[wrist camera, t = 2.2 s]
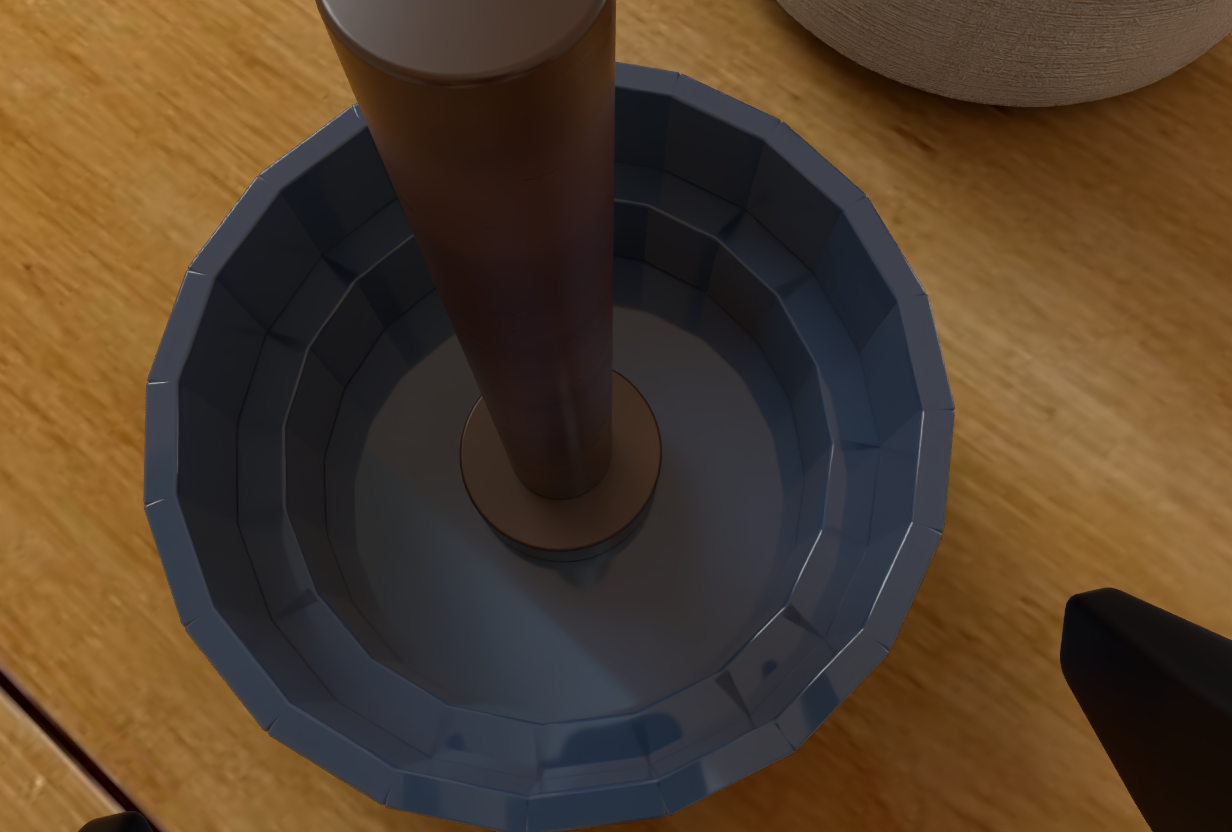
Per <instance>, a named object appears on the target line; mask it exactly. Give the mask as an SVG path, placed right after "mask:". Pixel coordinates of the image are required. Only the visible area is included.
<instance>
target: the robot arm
mask: <svg viewBox="0 0 1232 832" xmlns="http://www.w3.org/2000/svg"><path fill="white" fill-rule="evenodd" d="M1060 663H1061V668H1062V672H1063V674H1064V677H1065V679H1066V681H1067V683H1068V685H1069V687H1070V689H1071V690H1072V692H1073V694H1074V696H1075V698H1076V699H1077V701H1078V703H1079V705H1080V706H1081V708H1082V710H1083V712H1084V714H1085V715H1086V717H1087V719H1088V721H1089V722H1090V724H1091V726H1092V728H1093V729H1094V731H1095V733H1096V735H1097V737H1098V738H1099V740H1100V742H1101V744H1102V745H1103V747H1104V749H1105V751H1106V753H1107V754H1108V756H1109V758H1110V760H1111V761H1112V763H1113V765H1114V767H1115V769H1116V770H1117V772H1118V774H1119V776H1120V777H1121V779H1122V781H1123V783H1124V784H1125V786H1126V788H1127V790H1128V792H1129V793H1130V795H1131V797H1132V799H1133V800H1134V802H1135V804H1136V805H1137V807H1138V809H1139V810H1140V812H1141V814H1142V815H1143V817H1144V819H1145V820H1146V822H1147V823H1148V825H1149V826H1150V828H1151V829H1152V831H1153V832H1232V640H1230V639H1228V638H1225V637H1223V636H1221V635H1219V634H1216V633H1214V632H1212V631H1210V630H1208V629H1205V628H1203V627H1201V626H1199V625H1196V624H1194V623H1192V622H1190V621H1187V620H1185V619H1183V618H1181V617H1179V616H1176V615H1174V614H1172V613H1170V612H1167V611H1165V610H1163V609H1161V608H1158V607H1156V606H1154V605H1152V604H1150V603H1147V602H1145V601H1143V600H1141V599H1138V598H1136V597H1134V596H1132V595H1130V594H1127V593H1125V592H1123V591H1120V590H1118V589H1115V588H1101V589H1096V590H1092V591H1088V592H1083V593H1079V594H1075V595H1073V596H1071V597H1070V599H1069V600H1068V602H1067V603H1066V608H1065V615H1064V624H1063V633H1062V641H1061V650H1060ZM78 832H153V831H152V829H151V828H150V826H149V824H148V823H147V821H146V819H145V818H144V817H143V816H142V815H141V814H139V813H138V812H136V811H127V812H123V813H118V814H114V815H110V816H105V817H101V818H97V819H94V820H92V821H90V822H88V823H87V824H85V825H84V826H83V827H82V828H81V829H80V830H79V831H78Z"/></svg>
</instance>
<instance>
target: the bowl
mask: <svg viewBox="0 0 1232 832" xmlns="http://www.w3.org/2000/svg"><path fill="white" fill-rule="evenodd" d="M259 176H260V177H259ZM259 176H257V177H256V178H255V179H254V180H253V182H252V183H251V184H250V186H249V187H248V188H247V190H246V191H245V192H244V194H243V195H242V196H241V198H240V199H239V200H238V202H237V203H236V204H235V206H234V207H233V208H232V210H231V211H230V212H229V213H228V215H227V216H226V217H225V219H224V220H223V221H222V223H221V224H220V225H219V227H218V228H217V229H216V231H215V232H214V233H213V235H212V236H211V237H210V239H209V240H208V241H207V243H206V244H205V245H204V246H203V248H202V249H201V250H200V252H199V253H198V254H197V256H196V257H195V258H194V260H193V261H192V262H191V264H190V265H189V267H188V269H189V270H187V271H186V273H185V276H184V279H183V281H182V284H181V287H180V290H179V293H178V295H177V298H176V301H175V304H174V306H173V309H172V312H171V315H170V318H169V320H168V323H167V326H166V329H165V331H164V334H163V337H162V340H161V343H160V345H159V348H158V351H157V354H156V356H155V359H154V362H153V365H152V367H151V370H150V373H149V376H148V382H149V383H147V385H146V418H145V460H144V504H145V505H146V506H144V510H145V513H146V516H147V519H148V522H149V525H150V528H151V531H152V534H153V537H154V540H155V543H156V547H157V550H158V553H159V556H160V559H161V562H162V565H163V568H164V571H165V574H166V577H167V580H168V583H169V586H170V590H171V593H172V596H173V599H174V602H175V605H176V608H177V611H178V614H179V617H180V620H181V623H182V625H183V626H184V627H185V630H186V632H187V634H188V635H189V636H190V637H191V639H192V640H193V641H194V642H195V644H196V645H197V646H198V648H199V649H200V650H201V651H202V653H203V654H204V655H205V657H206V658H207V659H208V660H209V662H210V663H211V664H212V665H213V667H214V668H215V669H216V671H217V672H218V673H219V674H220V676H221V677H222V678H223V680H224V681H225V682H226V683H227V685H228V686H229V687H230V688H231V690H232V691H233V692H234V694H235V695H236V696H237V697H238V699H239V700H240V701H241V703H242V704H243V705H244V706H245V708H246V709H247V710H248V711H249V713H250V714H251V715H252V717H253V718H254V719H255V720H256V722H257V723H258V724H259V725H260V727H261V728H262V729H263V730H264V731H266V732H268V734H269V736H270V737H272V738H274V739H275V740H277V741H278V742H280V743H282V744H283V745H285V746H287V747H288V748H290V749H291V750H293V751H295V752H296V753H298V754H299V755H301V756H303V757H304V758H306V759H308V760H309V761H311V762H312V763H314V764H316V765H317V766H319V767H320V768H322V769H324V770H325V771H327V772H328V773H330V774H332V775H333V776H335V777H337V778H338V779H340V780H341V781H343V782H345V783H346V784H348V785H349V786H351V787H353V788H354V789H356V790H358V791H359V792H361V793H362V794H364V795H366V796H367V797H369V798H370V799H372V800H374V801H375V802H377V803H378V804H380V805H385V807H387V808H390V809H394V810H399V811H404V812H409V813H413V814H418V815H423V816H428V817H432V818H437V819H442V820H447V821H451V822H456V823H461V824H466V825H470V826H475V827H480V828H485V829H489V830H494V831H499V832H564V831H571V830H579V829H586V828H594V827H601V826H608V825H616V824H623V823H631V822H638V821H645V820H653V819H660V818H665V817H666V816H667V815H668V816H672V815H674V814H676V813H678V812H680V811H682V810H684V809H686V808H688V807H690V806H692V805H694V804H696V803H698V802H700V801H702V800H704V799H706V798H708V797H710V796H712V795H714V794H716V793H717V792H719V791H721V790H723V789H725V788H727V787H729V786H731V785H733V784H735V783H737V782H739V781H741V780H743V779H745V778H747V777H749V776H751V775H753V774H755V773H757V772H759V771H760V770H762V769H764V768H766V767H768V766H770V765H772V764H774V763H776V762H778V761H780V760H782V759H784V758H786V757H788V756H790V755H792V754H793V753H794V751H797V750H798V749H799V748H800V747H801V746H802V745H803V744H804V743H805V742H806V741H807V740H808V739H809V738H810V737H811V736H812V735H813V734H814V733H815V732H816V731H817V729H818V728H819V727H820V726H821V725H822V724H823V723H824V722H825V721H826V720H827V719H828V718H829V717H830V716H831V715H832V714H833V713H834V712H835V711H836V710H837V709H838V707H839V706H840V705H841V704H842V703H843V702H844V701H845V700H846V699H847V698H848V697H849V696H850V695H851V694H852V693H853V692H854V691H855V690H856V689H857V688H858V686H859V685H860V684H861V683H862V682H863V681H864V680H865V679H866V678H867V677H868V676H869V675H870V674H871V673H872V672H873V671H874V670H875V669H876V668H877V667H878V665H879V664H880V663H881V662H882V661H883V660H884V659H885V658H886V657H887V656H888V654H889V652H888V651H890V650H891V649H892V647H893V645H894V643H895V641H896V639H897V636H898V634H899V632H900V630H901V628H902V625H903V623H904V621H905V619H906V616H907V614H908V612H909V610H910V608H911V605H912V603H913V601H914V599H915V597H916V594H917V592H918V590H919V588H920V586H921V583H922V581H923V579H924V577H925V574H926V572H927V570H928V568H929V566H930V563H931V561H932V559H933V557H934V555H935V552H936V550H937V548H938V546H939V544H940V541H941V539H942V534H941V533H943V531H944V525H945V514H946V503H947V492H948V481H949V470H950V459H951V448H952V437H953V426H954V416H955V414H954V411H953V410H954V409H955V406H954V402H953V398H952V394H951V389H950V385H949V381H948V377H947V373H946V369H945V364H944V360H943V356H942V352H941V348H940V344H939V339H938V335H937V331H936V327H935V323H934V319H933V314H932V310H931V306H930V302H929V298H928V295H926V293H925V290H924V288H923V287H922V285H921V283H920V282H919V280H918V278H917V277H916V275H915V273H914V272H913V270H912V269H911V267H910V265H909V264H908V262H907V260H906V259H905V257H904V256H903V254H902V252H901V251H900V249H899V247H898V246H897V244H896V242H895V241H894V239H893V238H892V236H891V234H890V233H889V231H888V229H887V228H886V226H885V224H884V223H883V221H882V220H881V218H880V216H879V215H878V213H877V211H876V210H875V208H874V207H873V205H872V203H871V202H870V200H869V198H867V197H866V195H865V193H864V192H862V191H861V190H860V189H859V188H858V187H857V186H856V185H855V184H853V183H852V182H851V181H850V180H849V179H848V178H847V177H845V176H844V175H843V174H842V173H841V172H840V171H839V170H838V169H836V168H835V167H834V166H833V165H832V164H831V163H830V162H828V161H827V160H826V159H825V158H824V157H823V156H822V155H821V154H819V153H818V152H817V151H816V150H815V149H814V148H813V147H811V146H810V145H809V144H808V143H807V142H806V141H805V140H804V139H802V138H801V137H800V136H799V135H798V134H797V133H796V132H794V131H793V130H792V129H791V128H790V127H789V126H788V125H787V124H785V123H784V122H781V121H780V120H779V119H777V118H775V117H773V116H771V115H769V114H767V113H764V112H762V111H760V110H758V109H756V108H754V107H752V106H750V105H747V104H745V103H743V102H741V101H739V100H737V99H735V98H732V97H730V96H728V95H726V94H724V93H722V92H720V91H718V90H715V89H713V88H711V87H709V86H707V85H705V84H703V83H701V82H698V81H696V80H694V79H692V78H690V77H688V76H686V75H684V74H681V75H680V74H679V73H678V72H673V71H667V70H662V69H656V68H650V67H644V66H638V65H632V64H626V63H620V62H615V140H614V246H613V352H612V369H614V370H615V371H617V372H618V373H620V374H622V375H623V376H624V377H625V378H627V379H628V380H629V381H630V382H631V383H632V384H633V385H634V386H635V387H636V388H637V389H638V390H639V391H640V392H641V394H642V395H643V396H644V398H645V399H646V400H647V402H648V404H649V405H650V407H651V409H652V411H653V413H654V415H655V418H656V421H657V423H658V427H659V431H660V435H661V443H662V463H661V469H660V475H659V480H658V484H657V488H656V492H655V495H654V498H653V501H652V503H651V505H650V508H649V510H648V512H647V513H646V515H645V517H644V518H643V520H642V521H641V523H640V524H639V525H638V526H637V527H636V529H635V530H634V531H633V532H632V533H631V534H630V535H629V536H628V537H627V538H625V539H624V540H623V541H622V542H620V543H619V544H617V545H616V546H615V547H613V548H611V549H609V550H607V551H605V552H603V553H601V554H599V555H596V556H593V557H590V558H586V559H582V560H577V561H565V562H563V561H549V560H543V559H538V558H535V557H532V556H529V555H526V554H524V553H522V552H520V551H518V550H516V549H514V548H513V547H511V546H510V545H508V544H507V543H505V542H504V541H503V540H502V539H500V538H499V537H498V536H497V535H496V534H495V533H494V532H493V531H492V530H491V529H490V527H489V526H488V525H487V524H486V522H485V521H484V520H483V518H482V517H481V515H480V514H479V513H478V511H477V509H476V508H475V506H474V505H473V503H472V502H471V500H470V498H469V496H468V493H467V491H466V489H465V486H464V482H463V479H462V475H461V469H460V455H459V452H460V441H461V436H462V432H463V428H464V425H465V422H466V420H467V417H468V415H469V413H470V411H471V409H472V407H473V405H474V404H475V402H476V401H477V400H478V398H479V397H480V395H481V392H480V390H479V387H478V385H477V383H476V380H475V378H474V376H473V373H472V371H471V368H470V366H469V364H468V361H467V359H466V357H465V354H464V352H463V350H462V347H461V345H460V343H459V340H458V338H457V335H456V333H455V331H454V328H453V326H452V324H451V321H450V319H449V317H448V314H447V312H446V310H445V307H444V305H443V302H442V300H441V298H440V295H439V293H438V291H437V288H436V286H435V284H434V281H433V279H432V276H431V274H430V272H429V269H428V267H427V265H426V262H425V260H424V258H423V255H422V253H421V251H420V248H419V246H418V243H417V241H416V239H415V236H414V234H413V232H412V229H411V227H410V225H409V222H408V220H407V218H406V215H405V213H404V210H403V208H402V206H401V203H400V201H399V199H398V196H397V194H396V192H395V189H394V187H393V185H392V182H391V180H390V177H389V175H388V173H387V170H386V168H385V166H384V163H383V161H382V159H381V156H380V154H379V152H378V149H377V147H376V144H375V142H374V140H373V137H372V135H371V133H370V130H369V128H368V126H367V123H366V121H365V119H364V116H363V114H362V111H361V109H360V107H359V104H358V103H357V104H354V105H353V106H352V108H347V109H346V110H345V111H343V112H342V113H341V114H339V115H338V116H337V117H335V118H334V119H333V120H331V121H330V122H329V123H327V124H326V125H324V126H323V127H322V128H320V129H319V130H318V131H316V132H315V133H314V134H312V135H311V136H310V137H308V138H307V139H306V140H304V141H303V142H302V143H300V144H299V145H297V146H296V147H295V148H293V149H292V150H291V151H289V152H288V153H287V154H285V155H284V156H283V157H281V158H280V159H279V160H277V161H276V162H275V163H273V164H272V165H270V166H269V167H268V168H266V169H265V170H264V171H262V172H261V173H260V174H259Z"/></svg>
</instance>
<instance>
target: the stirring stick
mask: <svg viewBox="0 0 1232 832" xmlns="http://www.w3.org/2000/svg"><path fill="white" fill-rule="evenodd" d="M315 1H316V4H317V7H318V10H319V12H320V15H321V17H322V20H323V22H324V24H325V27H326V29H327V31H328V34H329V36H330V38H331V41H332V43H333V45H334V48H335V50H336V53H337V55H338V57H339V60H340V62H341V64H342V67H343V69H344V71H345V74H346V76H347V78H348V81H349V83H350V86H351V88H352V90H353V93H354V95H355V97H356V100H357V102H358V104H359V107H360V109H361V111H362V114H363V116H364V119H365V121H366V123H367V126H368V128H369V130H370V133H371V135H372V137H373V140H374V142H375V144H376V147H377V149H378V152H379V154H380V156H381V159H382V161H383V163H384V166H385V168H386V170H387V173H388V175H389V177H390V180H391V182H392V185H393V187H394V189H395V192H396V194H397V196H398V199H399V201H400V203H401V206H402V208H403V210H404V213H405V215H406V218H407V220H408V222H409V225H410V227H411V229H412V232H413V234H414V236H415V239H416V241H417V243H418V246H419V248H420V251H421V253H422V255H423V258H424V260H425V262H426V265H427V267H428V269H429V272H430V274H431V276H432V279H433V281H434V284H435V286H436V288H437V291H438V293H439V295H440V298H441V300H442V302H443V305H444V307H445V310H446V312H447V314H448V317H449V319H450V321H451V324H452V326H453V328H454V331H455V333H456V335H457V338H458V340H459V343H460V345H461V347H462V350H463V352H464V354H465V357H466V359H467V361H468V364H469V366H470V368H471V371H472V373H473V376H474V378H475V380H476V383H477V385H478V387H479V390H480V392H481V395H480V397H479V398H478V400H477V401H476V402H475V404H474V405H473V407H472V409H471V411H470V413H469V415H468V417H467V420H466V422H465V425H464V428H463V432H462V436H461V441H460V452H459V455H460V469H461V475H462V479H463V482H464V486H465V489H466V491H467V493H468V496H469V498H470V500H471V502H472V503H473V505H474V506H475V508H476V509H477V511H478V513H479V514H480V515H481V517H482V518H483V520H484V521H485V522H486V524H487V525H488V526H489V527H490V529H491V530H492V531H493V532H494V533H495V534H496V535H497V536H498V537H499V538H500V539H502V540H503V541H504V542H505V543H507V544H508V545H510V546H511V547H513V548H514V549H516V550H518V551H520V552H522V553H524V554H526V555H529V556H532V557H535V558H538V559H543V560H549V561H563V562H565V561H577V560H582V559H586V558H590V557H593V556H596V555H599V554H601V553H603V552H605V551H607V550H609V549H611V548H613V547H615V546H616V545H617V544H619V543H620V542H622V541H623V540H624V539H625V538H627V537H628V536H629V535H630V534H631V533H632V532H633V531H634V530H635V529H636V527H637V526H638V525H639V524H640V523H641V521H642V520H643V518H644V517H645V515H646V513H647V512H648V510H649V508H650V505H651V503H652V501H653V498H654V495H655V492H656V488H657V484H658V480H659V475H660V469H661V463H662V443H661V435H660V431H659V427H658V423H657V421H656V418H655V415H654V413H653V411H652V409H651V407H650V405H649V404H648V402H647V400H646V399H645V398H644V396H643V395H642V394H641V392H640V391H639V390H638V389H637V388H636V387H635V386H634V385H633V384H632V383H631V382H630V381H629V380H628V379H627V378H625V377H624V376H623V375H622V374H620V373H618V372H617V371H615V370H614V369H612V352H613V246H614V140H615V33H616V0H315Z"/></svg>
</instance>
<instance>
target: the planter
mask: <svg viewBox="0 0 1232 832" xmlns="http://www.w3.org/2000/svg"><path fill="white" fill-rule="evenodd" d="M776 1H777V2H778V3H779V5H780V6H781V7H782V8H783V9H784V10H785V11H786V12H787V13H788V14H789V15H791V16H792V17H793V18H794V19H795V20H796V21H797V22H798V23H800V24H801V25H802V26H803V27H804V28H806V29H807V30H808V31H809V32H811V33H812V34H813V35H815V36H816V37H817V38H819V39H820V40H821V41H823V42H824V43H826V44H827V45H829V46H830V47H832V48H833V49H835V50H836V51H838V52H839V53H841V54H842V55H844V56H846V57H847V58H849V59H851V60H853V61H854V62H856V63H858V64H859V65H861V66H864V67H866V68H868V69H870V70H872V71H874V72H876V73H878V74H880V75H882V76H885V77H887V78H890V79H892V80H895V81H897V82H900V83H902V84H905V85H908V86H911V87H914V88H917V89H920V90H923V91H926V92H929V93H933V94H937V95H941V96H944V97H948V98H952V99H958V100H963V101H969V102H974V103H982V104H991V105H999V106H1015V107H1051V106H1063V105H1072V104H1079V103H1085V102H1091V101H1096V100H1101V99H1105V98H1110V97H1115V96H1118V95H1121V94H1125V93H1128V92H1131V91H1135V90H1137V89H1140V88H1142V87H1145V86H1147V85H1150V84H1152V83H1155V82H1157V81H1159V80H1161V79H1163V78H1165V77H1167V76H1169V75H1171V74H1173V73H1175V72H1177V71H1178V70H1180V69H1182V68H1183V67H1185V66H1187V65H1188V64H1190V63H1192V62H1193V61H1195V60H1196V59H1198V58H1199V57H1200V56H1202V55H1203V54H1204V53H1206V52H1207V51H1209V50H1210V49H1211V48H1212V47H1214V46H1215V45H1216V44H1217V43H1218V42H1220V41H1221V40H1222V39H1223V38H1225V37H1226V36H1227V35H1228V34H1229V33H1231V32H1232V0H776Z"/></svg>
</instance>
